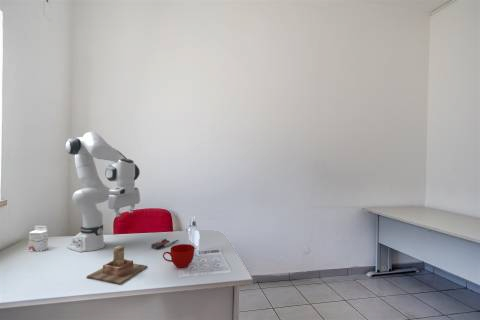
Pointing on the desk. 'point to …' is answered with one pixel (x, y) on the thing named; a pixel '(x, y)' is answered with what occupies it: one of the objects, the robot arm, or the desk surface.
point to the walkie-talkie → (162, 244)
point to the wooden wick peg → (118, 256)
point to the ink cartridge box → (38, 238)
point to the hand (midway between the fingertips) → (124, 214)
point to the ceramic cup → (181, 255)
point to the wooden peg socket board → (117, 272)
